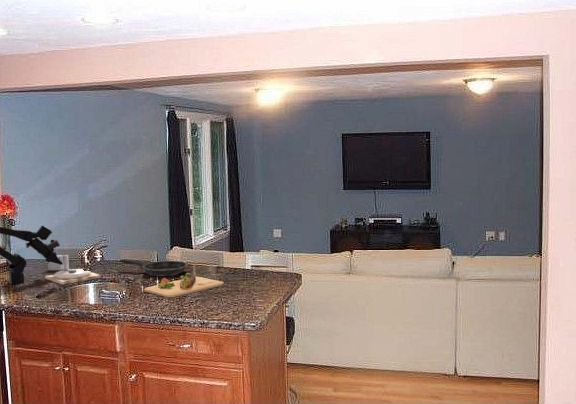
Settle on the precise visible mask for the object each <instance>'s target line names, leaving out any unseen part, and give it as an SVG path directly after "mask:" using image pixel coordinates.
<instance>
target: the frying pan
mask: <svg viewBox="0 0 576 404" xmlns="http://www.w3.org/2000/svg"><path fill="white" fill-rule="evenodd" d="M119 262H120V263H123V264H126V265H127V264H128V265H135V266H139V268H140V269H141V270H142V271H144V272H145V273H147V274H148V275H150V276H153V277H170V276H176V275H180V274H181V273H183V272H184V270H185V269H186V267H187V266H188V263H187V262H184V261H179V260H164V261H153V262H152V261H151V262H149V263H145V262H142V261H140V260H135V259H127V258H124V259H120V260H119Z"/></svg>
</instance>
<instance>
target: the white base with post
mask: <svg viewBox="0 0 576 404" xmlns="http://www.w3.org/2000/svg"><path fill="white" fill-rule="evenodd" d="M62 255H63V266H64V269H63V270H58V271H56V272H55V273H54V275H55V278H59V279H72V278H80V277H85V276H88V275H90V274H91V272H92V271H91V270H90V271H84V270H83V269H84V268H73V269H71V268H70V266H69V265H70V264H69V255H68V254H62Z"/></svg>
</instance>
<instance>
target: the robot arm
mask: <svg viewBox="0 0 576 404" xmlns="http://www.w3.org/2000/svg"><path fill="white" fill-rule="evenodd" d="M52 233H53V232H52V230H51V229H49V228H48V227H45V225H41V226H39V229H38V230H37V231H36V232H32V231H31V230H25V229H24V230H23V229H12V228H8V227H3V226H0V234H1V235H5V236H9V237H14V238H16V239H19V240H20V241H23V242H25V248H26V249H28V248H31V249H33V250H35V251H36V252H37V253H38V254H40V256H42V257H43V258H44V259H45V262H47V264H48V263H49V262H53V263H57V264H60V265H62V264H63V263H62V262H61V261H60V259H59V258H58V257H57V255H58V253H57V251H56V248H57V247H60V246H61V244H60V243H59V241H58V239H53V238H52V239H51V240H50V242H49V243H48V244H47V243H44V242H43V241H46V240H48V239H49V237H50V236H51V235H52ZM0 258H3V259H4V260H6V261H7V262H8V264H9V265H8V266H7V271H8V279H9V281H8V284H11V285H18V284H23V283H24V284H25V274H24V271H25V268H26V266H27V260H25V257H23V256H21V255H20V254H19V253H13V254H12V253H10V252H9V251H8V250H6V249H4V248H3V247H1V246H0Z"/></svg>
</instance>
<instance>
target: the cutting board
mask: <svg viewBox="0 0 576 404" xmlns="http://www.w3.org/2000/svg"><path fill="white" fill-rule="evenodd" d="M224 283H225V282H224V281H221V280H215V279H211V278H207V277H201V276H196V275H193V274H192V273H189V272H187V273H185V275H181V276H180V279H178V280H174V281H169V279H167V278H166V277H163V278H162V279H161V280H160V283H159V284H156V285H152V286H148V287H146V288H143V290H144V292H145V293H146V292H147V293H150V294H153V295H158V296H160V297H165V298H168V299H169V298H176V297H180V296H184V295H188V294H192V293H197V292H201V291H204V290H209V289H213V288H217V287H220V286H223V285H224Z"/></svg>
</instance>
